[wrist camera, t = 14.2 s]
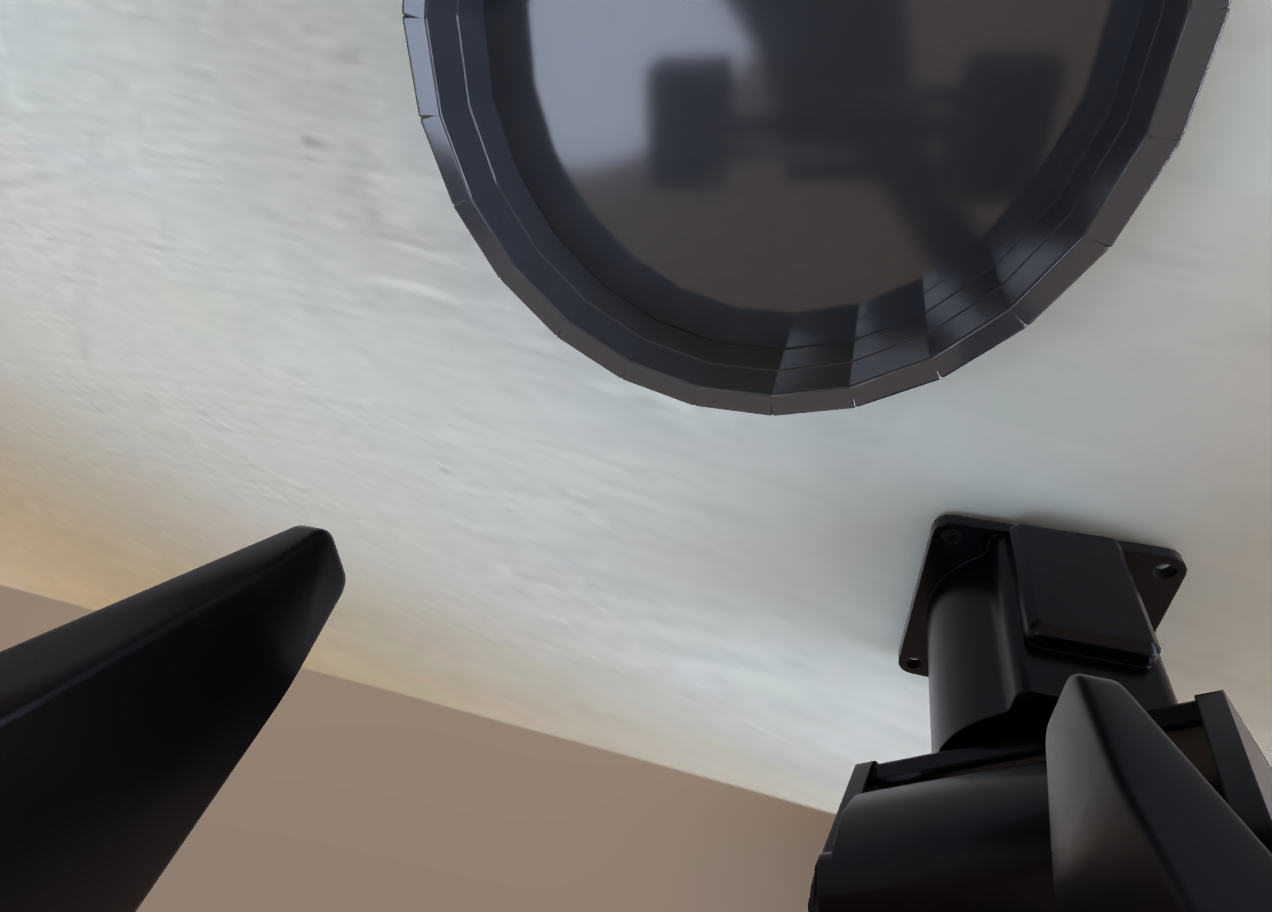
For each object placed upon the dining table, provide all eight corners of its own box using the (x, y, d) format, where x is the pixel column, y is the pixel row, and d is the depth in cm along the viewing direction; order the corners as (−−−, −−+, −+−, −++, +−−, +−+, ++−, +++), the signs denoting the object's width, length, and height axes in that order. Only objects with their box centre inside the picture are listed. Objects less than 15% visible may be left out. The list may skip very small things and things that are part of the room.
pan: (1044, 393, 19) (1066, 455, 16) (508, 333, 23) (462, 376, 20) (1357, -546, 10) (1493, -700, 8) (417, -389, 14) (319, -461, 12)
